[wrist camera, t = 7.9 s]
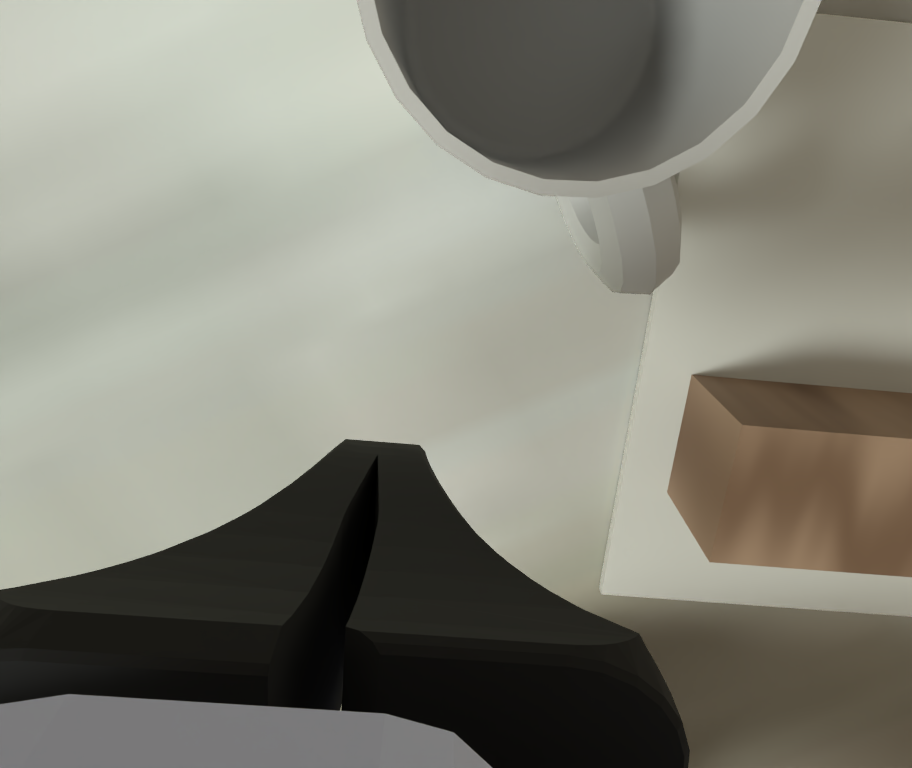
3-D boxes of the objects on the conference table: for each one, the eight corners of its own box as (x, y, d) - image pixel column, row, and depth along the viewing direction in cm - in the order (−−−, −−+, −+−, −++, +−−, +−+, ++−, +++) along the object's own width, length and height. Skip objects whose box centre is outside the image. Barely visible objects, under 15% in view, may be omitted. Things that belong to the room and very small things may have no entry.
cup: (623, -181, 18) (783, -466, 9) (716, 213, 21) (900, 268, 12) (349, -66, 18) (266, -232, 10) (479, 297, 22) (500, 404, 13)
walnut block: (979, 582, 20) (709, 562, 19) (894, 509, 24) (666, 492, 23) (1030, 449, 18) (742, 425, 18) (931, 395, 22) (691, 374, 22)
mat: (1047, 619, 25) (1056, 627, 25) (598, 587, 25) (601, 594, 24) (1286, 65, 20) (1302, 64, 19) (706, 4, 19) (711, 1, 19)
